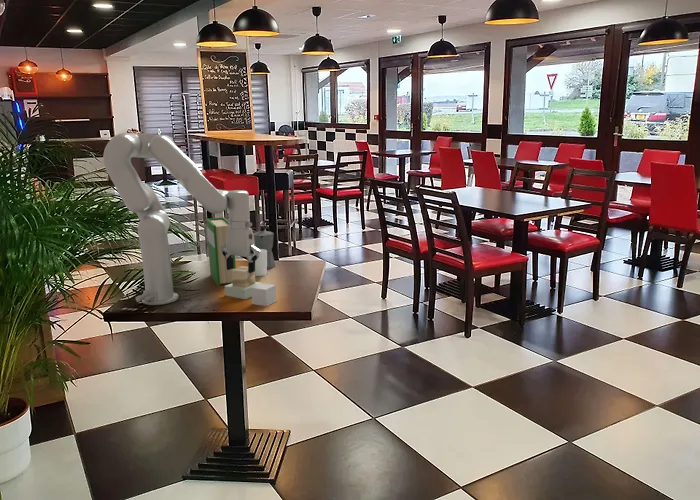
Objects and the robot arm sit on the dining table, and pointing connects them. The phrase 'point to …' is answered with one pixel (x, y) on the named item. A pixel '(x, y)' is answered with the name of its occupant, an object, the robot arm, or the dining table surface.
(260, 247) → the coffeepot
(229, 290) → the base block
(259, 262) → the white cup
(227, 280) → the hardback book
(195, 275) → the dining table surface
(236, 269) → the maple cube
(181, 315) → the dining table surface
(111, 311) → the dining table surface
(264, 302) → the grey cube
